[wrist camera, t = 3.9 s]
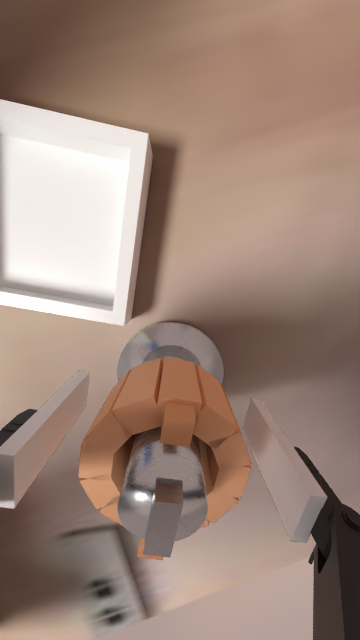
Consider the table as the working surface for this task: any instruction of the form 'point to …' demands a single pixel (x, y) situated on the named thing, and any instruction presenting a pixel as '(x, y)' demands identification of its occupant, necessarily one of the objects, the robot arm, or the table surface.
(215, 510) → the ring
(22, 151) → the tray
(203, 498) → the grey stepped cylinder
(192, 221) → the table surface
